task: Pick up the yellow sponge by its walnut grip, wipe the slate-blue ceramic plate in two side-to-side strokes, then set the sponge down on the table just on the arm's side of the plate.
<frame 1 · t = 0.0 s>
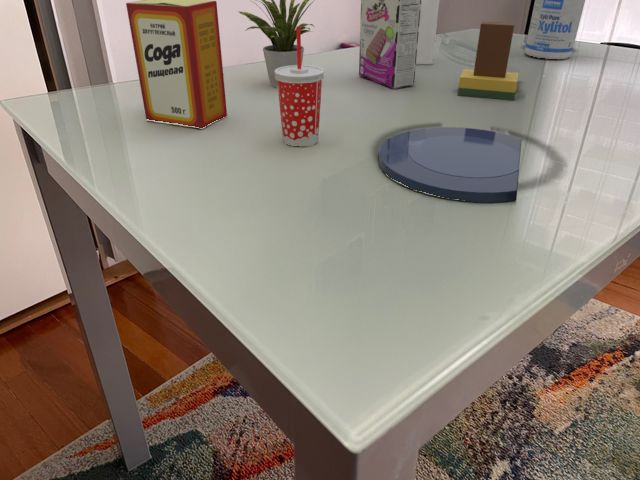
baking soda box: (187, 120, 77), on the table
sponge: (486, 93, 88), on the table
house plant: (288, 84, 94), on the table
milk: (415, 62, 109), on the table
beverage cup: (300, 142, 69), on the table
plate: (463, 164, 62), on the table
candy bar box: (385, 82, 95), on the table
supplement tub: (547, 57, 114), on the table
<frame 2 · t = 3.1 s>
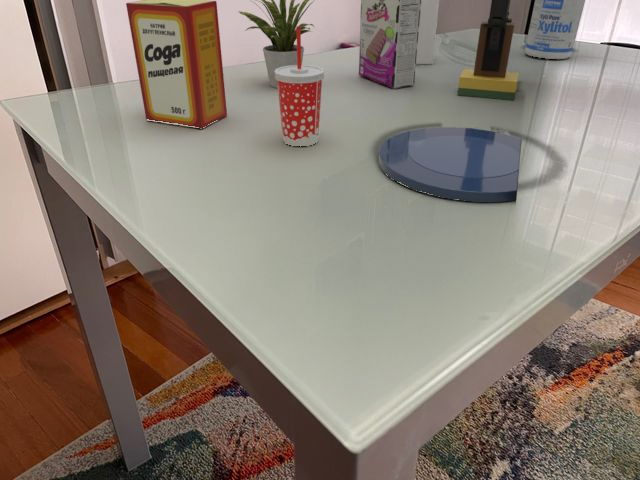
hand: (490, 67, 86), 4 cm above the table, tool pointing down, fingers closed on sponge, 3 cm apart
sponge: (486, 93, 88), on the table, touching gripper
everything else where it was.
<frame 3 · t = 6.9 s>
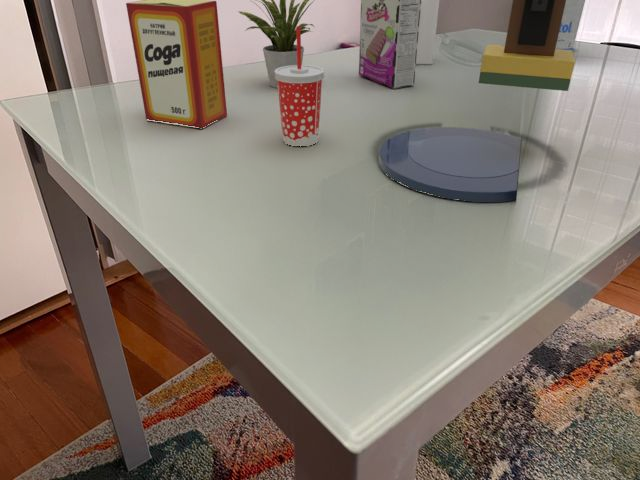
hand: (531, 41, 56), 14 cm above the table, tool pointing down, fingers closed on sponge, 3 cm apart
sponge: (522, 80, 58), point 9 cm above the table, touching gripper
everything else where it was.
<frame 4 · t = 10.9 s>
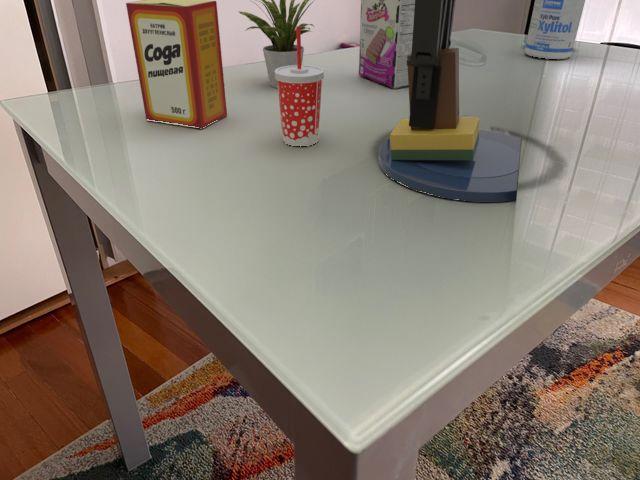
hand: (424, 121, 59), 5 cm above the table, tool pointing down, fingers closed on sponge, 3 cm apart
sponge: (435, 151, 61), point 2 cm above the table, tilted 8°, touching gripper
everything else where it was.
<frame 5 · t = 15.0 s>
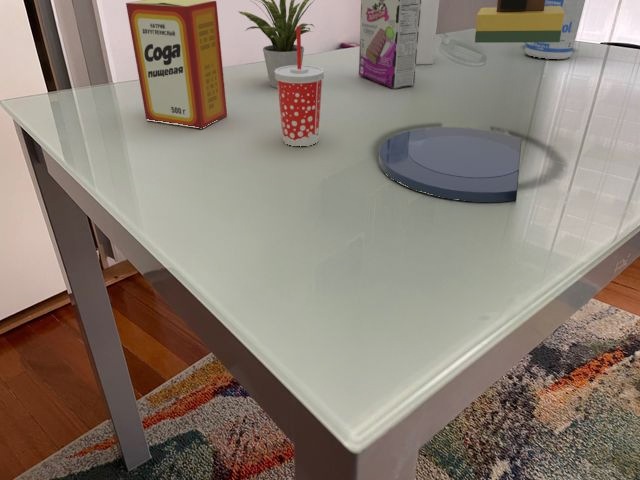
hand: (512, 6, 60), 16 cm above the table, tool pointing down, fingers closed on sponge, 3 cm apart
sponge: (516, 37, 61), point 13 cm above the table, touching gripper
everything else where it was.
when the fingers open (3 cm above the table, at t = 18.8 s): sponge stays where it is, on the table.
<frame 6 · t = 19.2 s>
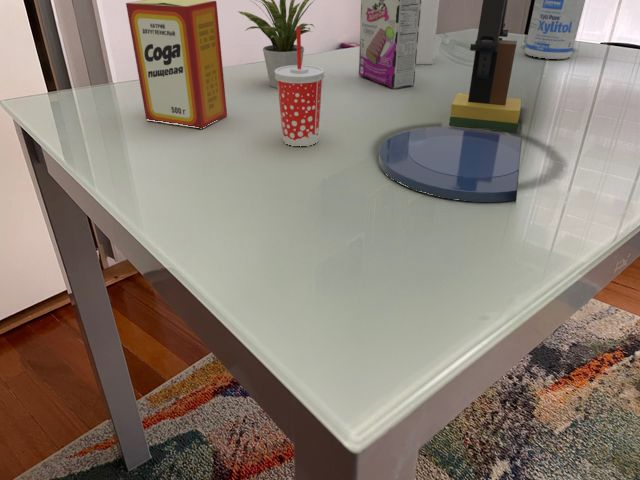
hand: (482, 92, 73), 4 cm above the table, tool pointing down, fingers open, 9 cm apart
sponge: (483, 122, 75), on the table
everything else where it was.
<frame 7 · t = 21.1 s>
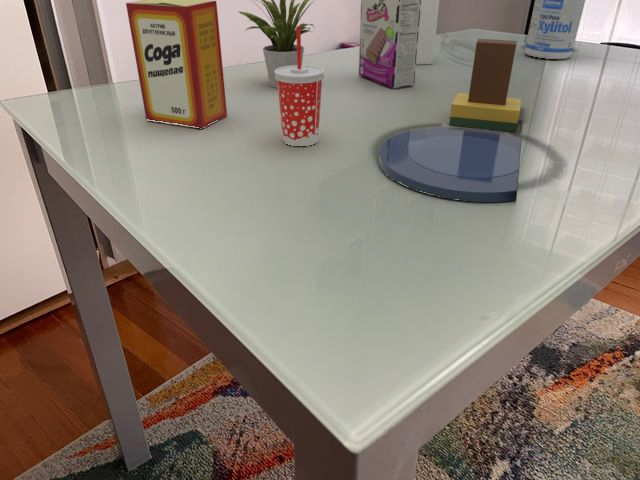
nothing on the table moved.
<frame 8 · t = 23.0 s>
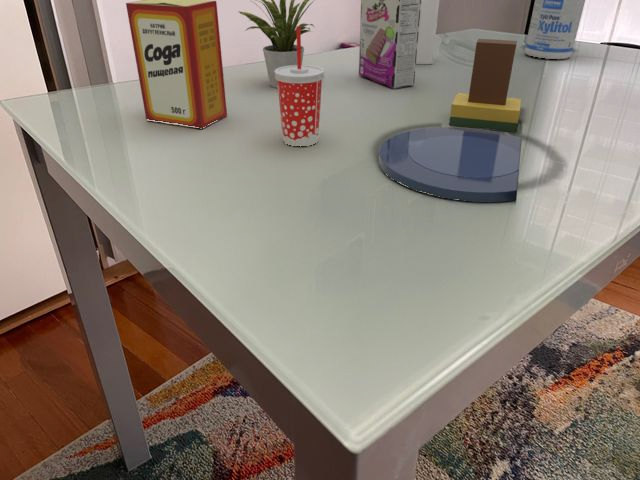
nothing on the table moved.
at the end: sponge tilted 0°; the gripper is holding nothing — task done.
